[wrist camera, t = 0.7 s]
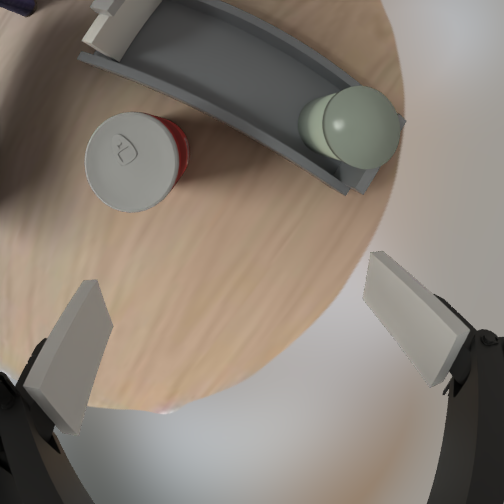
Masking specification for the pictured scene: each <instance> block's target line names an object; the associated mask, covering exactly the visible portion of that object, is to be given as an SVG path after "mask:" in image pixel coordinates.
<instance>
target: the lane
mask: <svg viewBox="0 0 504 504" xmlns="http://www.w3.org/2000/svg"><path fill="white" fill-rule="evenodd" d="M77 60H80V61H82V62H84V63H86V64H89V65H91V66H93V67H96V68H99V69H102V70H105V71H108V72H110V73H113V74H116V75H118V76H121V77H124V78H126V79H129V80H131V81H134V82H136V83H139V84H141V85H143V86H146V87H148V88H151V89H153V90H155V91H157V92H160V93H162V94H164V95H167V96H169V97H171V98H173V99H175V100H177V101H180V102H182V103H184V104H186V105H188V106H190V107H192V108H194V109H196V110H198V111H200V112H202V113H204V114H206V115H208V116H210V117H212V118H214V119H216V120H218V121H220V122H222V123H224V124H226V125H228V126H230V127H231V128H233V129H235V130H237V131H239V132H241V133H242V134H244V135H246V136H248V137H250V138H251V139H253V140H255V141H257V142H258V143H260V144H262V145H264V146H265V147H267V148H269V149H270V150H272V151H274V152H276V153H277V154H279V155H280V156H282V157H284V158H285V159H287V160H289V161H290V162H292V163H294V164H295V165H297V166H298V167H300V168H301V169H303V170H305V171H306V172H308V173H309V174H311V175H312V176H314V177H315V178H317V179H318V180H320V181H321V182H323V183H324V184H326V185H327V186H329V187H330V188H332V189H334V190H336V191H337V192H339V193H341V194H343V195H345V196H346V195H347V193H348V192H349V190H350V189H352V190H354V191H357V192H359V193H361V194H363V195H364V193H365V191H366V190H367V188H368V187H369V185H370V183H371V182H372V180H373V178H374V177H375V175H376V173H377V172H378V170H379V168H380V167H381V166H379V167H377V168H373V169H360V168H356V167H353V166H350V165H348V164H345V163H344V162H342V161H340V160H337V159H333V158H329V157H326V156H322V155H318V154H316V153H314V152H312V151H311V150H310V149H308V148H307V147H306V145H305V144H304V143H303V141H302V140H301V138H300V135H299V132H298V118H299V115H300V112H301V110H302V109H303V107H304V106H305V105H306V104H307V103H308V102H310V101H311V100H313V99H316V98H319V97H323V96H326V95H330V94H334V93H337V92H339V91H341V90H343V89H346V88H349V87H353V86H362V85H361V84H360V83H358V82H357V81H356V80H355V79H353V78H352V77H351V76H350V75H348V74H347V73H346V72H344V71H343V70H342V69H340V68H339V67H338V66H336V65H335V64H333V63H332V62H331V61H329V60H328V59H326V58H325V57H323V56H322V55H321V54H319V53H318V52H316V51H315V50H313V49H312V48H310V47H308V46H307V45H305V44H304V43H302V42H300V41H299V40H297V39H296V38H294V37H292V36H291V35H289V34H287V33H285V32H284V31H282V30H280V29H278V28H277V27H275V26H273V25H271V24H269V23H267V22H265V21H263V20H261V19H260V18H258V17H256V16H254V15H251V14H249V13H247V12H245V11H243V10H241V9H239V8H236V7H234V6H232V5H230V4H227V3H225V2H222V1H220V0H162V2H161V3H160V4H159V5H158V7H157V8H156V9H155V10H154V12H153V13H152V14H151V16H150V17H149V18H148V20H147V21H146V22H145V24H144V25H143V27H142V28H141V29H140V31H139V32H138V34H137V35H136V37H135V38H134V40H133V41H132V43H131V44H130V46H129V47H128V49H127V50H126V52H125V54H124V55H123V57H122V59H121V60H120V62H118V61H115V60H112V59H110V58H109V57H107V56H105V55H104V54H102V53H101V52H99V51H97V50H96V51H95V52H94V54H90V53H86V52H83V51H81V52H80V54H79V56H78V58H77ZM397 115H398V119H399V123H400V132H401V130H402V128H403V126H404V124H405V123H406V120H405V119H404V118H403V117H402V116H401V115H400V114H397Z"/></svg>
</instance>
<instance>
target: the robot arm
mask: <svg viewBox="0 0 504 504" xmlns="http://www.w3.org/2000/svg"><path fill="white" fill-rule="evenodd" d="M363 300H364V301H365V303H366V304H367V305H368V306H369V307H370V309H371V310H372V311H373V313H374V314H375V315H376V316H377V318H378V319H379V320H380V322H381V323H382V324H383V325H384V327H385V328H386V329H387V330H388V332H389V333H390V334H391V336H392V337H393V338H394V340H395V341H396V342H397V344H398V345H399V346H400V348H401V349H402V350H403V352H404V353H405V354H406V356H407V357H408V358H409V360H410V361H411V362H412V364H413V365H414V367H415V368H416V369H417V371H418V372H419V373H420V375H421V376H422V378H423V379H424V380H425V382H426V383H427V385H428V386H429V387H430V388H431V387H433V386H435V385H437V384H439V383H441V382H443V381H444V379H445V377H446V376H447V374H448V372H450V373H451V374H452V378H451V380H450V381H449V383H448V385H447V386H446V388H445V389H444V391H443V395H445V394H446V392H447V390H448V389H449V394H448V396H449V398H448V408H447V416H446V423H445V430H444V436H443V442H442V447H441V452H440V457H439V462H438V466H437V470H436V474H435V479H434V482H433V486H432V489H431V492H430V496H429V499H428V502H427V504H503V501H504V337H497V335H496V334H494V333H493V332H491V331H488V330H484V329H481V330H478V331H477V330H476V329H475V328H473V326H472V325H471V324H470V323H469V322H468V321H466V319H464V318H463V317H462V316H461V315H460V314H459V313H457V311H456V310H455V309H454V308H453V307H451V305H450V304H448V302H446V301H445V300H444V299H443V298H441V297H439V296H437V295H435V294H432V293H431V292H430V291H429V290H428V289H427V288H426V287H424V286H423V285H422V284H421V283H420V282H419V281H418V280H416V279H415V278H414V277H413V276H412V275H411V274H410V273H409V272H407V271H406V270H405V269H404V268H403V267H402V266H400V265H399V264H398V263H397V262H396V261H394V260H393V259H392V258H391V257H390V256H388V255H387V254H386V253H385V252H383V251H378V252H371V253H370V259H369V265H368V271H367V277H366V284H365V289H364V294H363ZM112 328H113V324H112V321H111V318H110V316H109V313H108V310H107V307H106V305H105V302H104V299H103V296H102V293H101V290H100V287H99V284H98V281H97V279H96V280H84V281H83V282H82V284H81V285H80V287H79V288H78V290H77V291H76V293H75V294H74V296H73V297H72V299H71V300H70V302H69V304H68V305H67V307H66V308H65V310H64V312H63V313H62V315H61V316H60V318H59V320H58V321H57V323H56V325H55V326H54V328H53V330H52V331H51V333H50V335H49V337H48V338H44V339H43V340H42V341H41V342H40V343H39V344H38V345H37V346H36V348H35V349H34V351H33V353H32V357H30V358H29V360H28V364H26V366H25V368H24V370H23V372H22V374H21V376H20V378H19V380H18V382H17V384H16V386H14V385H13V384H12V382H11V381H10V379H9V378H8V377H7V375H6V374H5V373H3V372H0V504H95V503H94V502H93V500H92V499H91V497H90V496H89V494H88V493H87V491H86V490H85V488H84V487H83V485H82V483H81V482H80V480H79V478H78V476H77V475H76V473H75V471H74V469H73V467H72V466H71V464H70V462H69V460H68V458H67V456H66V454H65V452H64V450H63V448H62V446H61V444H60V442H59V440H58V438H57V436H56V435H55V433H54V432H53V429H54V426H55V425H56V427H57V428H58V429H59V430H60V431H61V432H62V433H64V434H70V435H75V436H79V434H80V430H81V426H82V422H83V418H84V414H85V411H86V407H87V403H88V400H89V396H90V393H91V390H92V387H93V383H94V380H95V377H96V374H97V371H98V368H99V365H100V362H101V359H102V356H103V353H104V350H105V347H106V345H107V342H108V339H109V336H110V334H111V331H112Z"/></svg>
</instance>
